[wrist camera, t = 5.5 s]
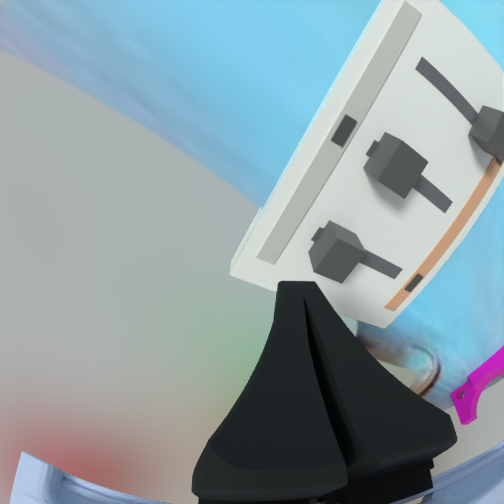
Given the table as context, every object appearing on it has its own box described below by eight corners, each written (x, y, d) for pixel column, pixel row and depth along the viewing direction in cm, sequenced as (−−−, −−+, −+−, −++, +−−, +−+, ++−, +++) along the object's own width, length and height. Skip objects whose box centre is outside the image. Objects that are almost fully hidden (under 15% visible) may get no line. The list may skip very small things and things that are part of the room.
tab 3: (497, 124, 11) (517, 132, 10) (483, 151, 13) (502, 161, 11) (482, 105, 11) (503, 111, 9) (468, 133, 12) (488, 142, 10)
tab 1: (355, 233, 16) (366, 252, 15) (334, 263, 17) (341, 283, 16) (329, 220, 16) (337, 238, 14) (307, 251, 17) (313, 272, 15)
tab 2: (410, 151, 13) (428, 161, 12) (389, 184, 14) (404, 199, 13) (384, 131, 13) (402, 140, 11) (362, 167, 14) (377, 180, 12)
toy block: (513, 328, 27) (534, 364, 21) (518, 337, 29) (536, 370, 22) (443, 387, 34) (456, 424, 28) (455, 390, 36) (467, 424, 30)
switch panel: (519, 112, 12) (533, 117, 10) (379, 316, 23) (385, 330, 21) (391, -23, 8) (403, -30, 7) (230, 261, 20) (229, 276, 18)
